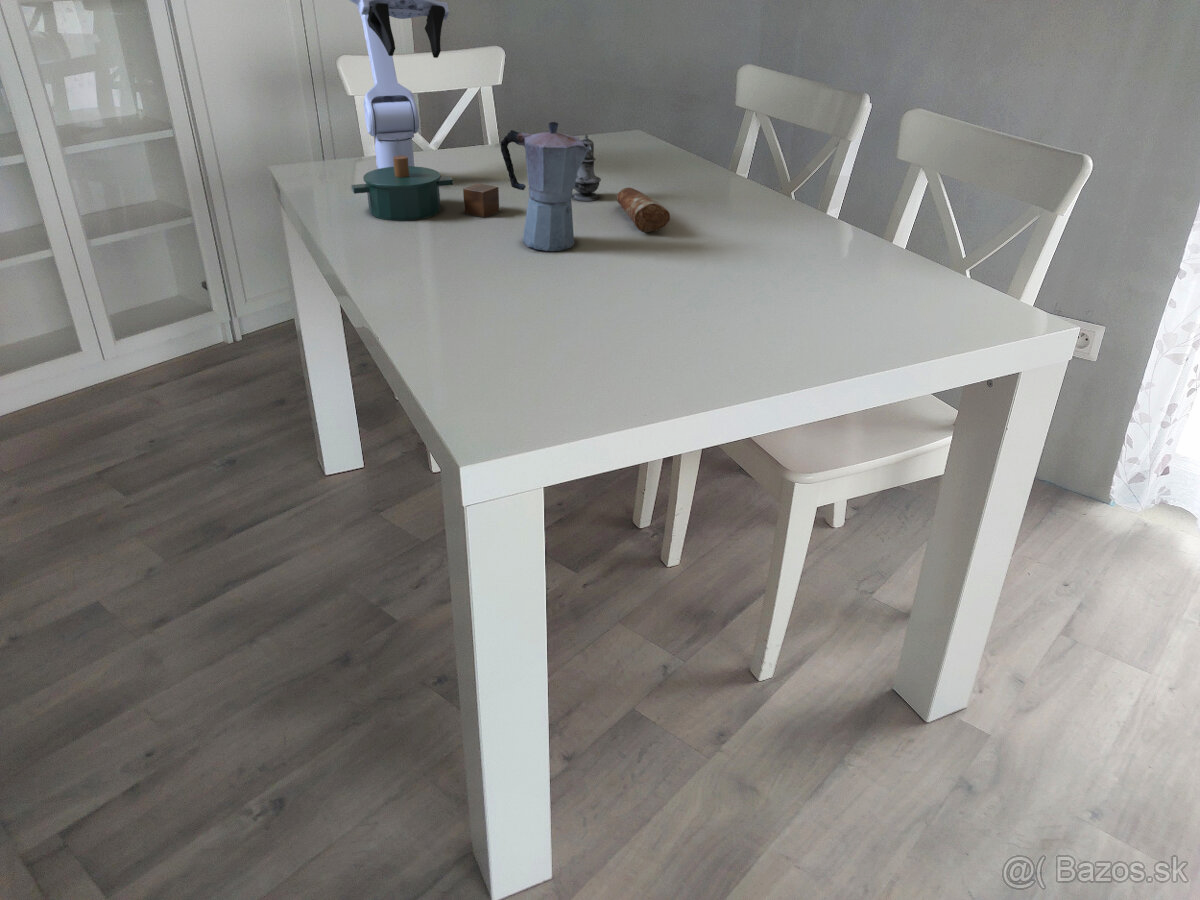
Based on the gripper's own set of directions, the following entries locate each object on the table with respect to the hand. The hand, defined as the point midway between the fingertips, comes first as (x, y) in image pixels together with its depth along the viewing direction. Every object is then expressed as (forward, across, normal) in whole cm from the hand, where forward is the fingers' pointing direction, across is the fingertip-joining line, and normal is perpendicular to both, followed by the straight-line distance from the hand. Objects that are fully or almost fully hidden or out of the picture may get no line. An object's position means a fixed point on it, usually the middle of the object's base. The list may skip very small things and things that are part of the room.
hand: (414, 53), depth 154 cm
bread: (+29, +37, +5) cm, 47 cm away
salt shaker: (+18, +35, +18) cm, 43 cm away
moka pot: (+34, +16, +2) cm, 38 cm away
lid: (+12, 0, +20) cm, 24 cm away
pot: (+16, +1, +24) cm, 29 cm away
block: (+20, +13, +18) cm, 30 cm away
